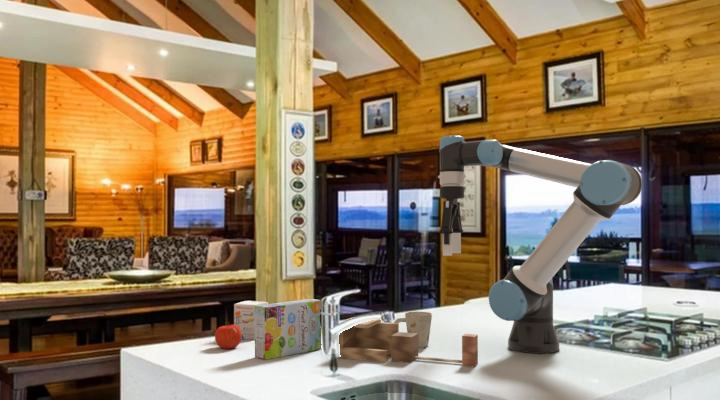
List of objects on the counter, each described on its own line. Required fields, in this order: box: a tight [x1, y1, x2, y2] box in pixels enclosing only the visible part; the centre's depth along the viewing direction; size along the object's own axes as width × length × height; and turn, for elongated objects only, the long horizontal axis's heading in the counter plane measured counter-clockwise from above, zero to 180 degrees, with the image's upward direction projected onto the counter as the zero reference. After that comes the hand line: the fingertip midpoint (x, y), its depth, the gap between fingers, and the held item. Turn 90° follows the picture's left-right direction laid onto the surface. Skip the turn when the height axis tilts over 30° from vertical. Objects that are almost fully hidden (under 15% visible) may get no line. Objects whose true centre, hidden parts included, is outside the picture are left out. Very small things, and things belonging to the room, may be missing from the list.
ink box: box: [233, 300, 269, 341], centre depth 215 cm, size 9×8×12 cm
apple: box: [214, 321, 242, 350], centre depth 197 cm, size 8×8×8 cm
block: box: [390, 331, 479, 368], centre depth 178 cm, size 23×6×8 cm, turn 68°
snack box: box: [254, 298, 323, 360], centre depth 190 cm, size 21×6×15 cm, turn 134°
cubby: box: [339, 316, 400, 363], centre depth 186 cm, size 14×11×10 cm
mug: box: [393, 311, 433, 348], centre depth 202 cm, size 8×13×10 cm, turn 78°
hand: (452, 254), depth 199 cm, fingers open, 13 cm apart
